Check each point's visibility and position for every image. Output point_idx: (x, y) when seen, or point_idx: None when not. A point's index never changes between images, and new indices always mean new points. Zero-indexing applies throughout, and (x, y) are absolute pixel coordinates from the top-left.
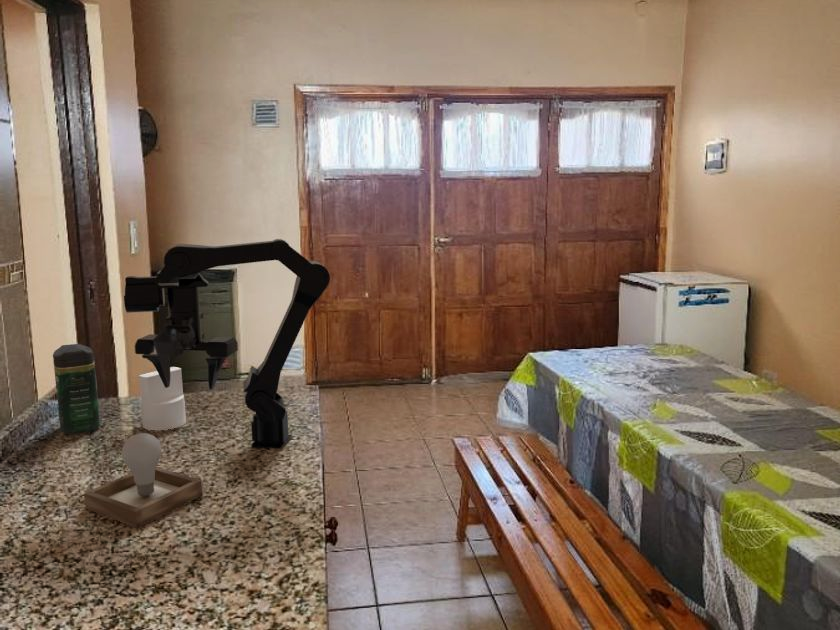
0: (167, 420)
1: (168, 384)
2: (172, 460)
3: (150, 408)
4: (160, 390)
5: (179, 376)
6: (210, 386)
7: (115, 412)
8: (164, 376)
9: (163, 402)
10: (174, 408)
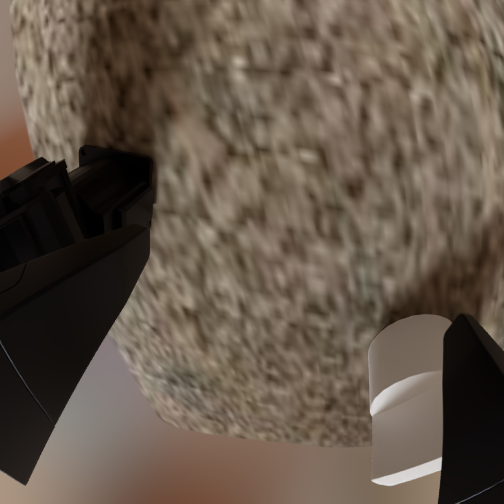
0: (412, 335)
1: (452, 338)
2: (371, 84)
3: None
4: (432, 415)
5: (377, 459)
6: (124, 229)
7: None
8: (495, 370)
9: (425, 380)
10: (395, 366)
